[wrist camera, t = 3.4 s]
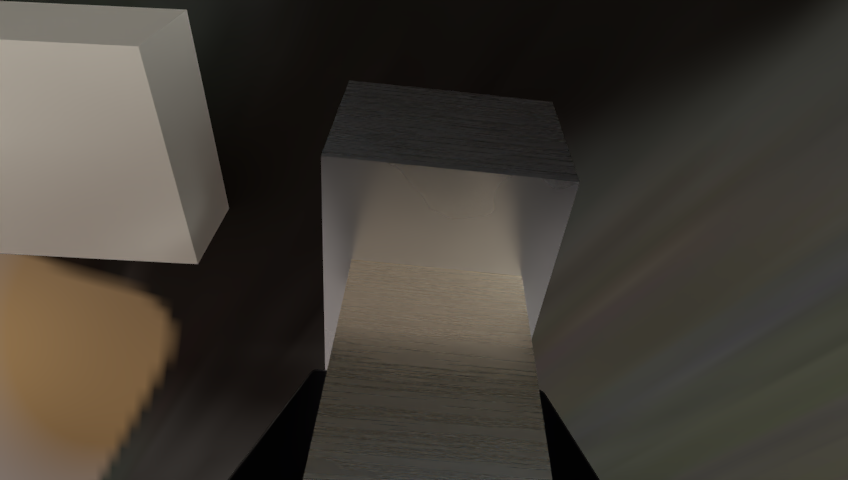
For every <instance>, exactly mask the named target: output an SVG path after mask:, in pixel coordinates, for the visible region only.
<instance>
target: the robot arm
mask: <svg viewBox="0 0 848 480" xmlns="http://www.w3.org/2000/svg"><path fill="white" fill-rule="evenodd" d="M326 373H327V370H319V369H316V370H313V371H312V372H311V373H310V374H309V375H308V376H307V378H306V379H305V380H304V381H303V383H302V384H301V385H300V387H299V388H298V389H297V390H296V392H295V393H294V394H293V396H292V397H291V398H290V400H289V401H288V402H287V403H286V405H285V406H284V407H283V409H282V410H281V411H280V412H279V414H278V415H277V416H276V418H275V419H274V420H273V422H272V423H271V424H270V425H269V427H268V428H267V429H266V431H265V432H264V433H263V435H262V436H261V437H260V438H259V440H258V441H257V442H256V444H255V445H254V446H253V447H252V449H251V450H250V451H249V453H248V454H247V455H246V457H245V458H244V459H243V460H242V462H241V463H240V464H239V466H238V467H237V468H236V469H235V471H234V472H233V473H232V475H231V476H230V477H229V479H228V480H303V477H304V473H305V468H306V464H307V459H308V454H309V450H310V445H311V441H312V436H313V432H314V427H315V423H316V418H317V414H318V409H319V405H320V400H321V396H322V391H323V387H324V382H325V378H326ZM539 393H540V400H541V407H542V413H543V420H544V427H545V433H546V440H547V447H548V453H549V460H550V467H551V474H552V480H599V478H598V476H597V475H596V473H595V472H594V470H593V469H592V467H591V465H590V464H589V462H588V461H587V459H586V457H585V456H584V454H583V453H582V451H581V450H580V448H579V446H578V445H577V443H576V442H575V440H574V439H573V437H572V435H571V434H570V432H569V431H568V429H567V428H566V426H565V424H564V423H563V421H562V420H561V418H560V416H559V415H558V413H557V412H556V410H555V409H554V407H553V405H552V404H551V402H550V401H549V399H548V398H547V396H546V394H545V393H544V392H543V391H541V390H539Z"/></svg>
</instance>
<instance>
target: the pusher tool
mask: <svg viewBox="0 0 848 480" xmlns="http://www.w3.org/2000/svg"><path fill="white" fill-rule="evenodd" d="M579 183H580V182H579V179H578V176H577V173H576V170H575V167H574V164H573V161H572V158H571V155H570V152H569V149H568V146H567V143H566V140H565V138H564V135H563V132H562V129H561V126H560V123H559V120H558V117H557V114H556V111H555V108H554V105H553V102H551V101H541V100H532V99H522V98H513V97H503V96H494V95H484V94H475V93H465V92H456V91H446V90H437V89H427V88H418V87H408V86H399V85H389V84H380V83H370V82H361V81H351V80H349V82H348V85H347V87H346V90H345V93H344V95H343V98H342V101H341V103H340V106H339V109H338V111H337V114H336V117H335V119H334V122H333V125H332V128H331V130H330V133H329V136H328V138H327V141H326V144H325V146H324V149H323V152H322V154H321V185H322V234H323V284H324V333H325V370H327V373H326V378H325V382H324V387H323V391H322V396H321V400H320V405H319V409H318V414H317V418H316V423H315V427H314V432H313V436H312V441H311V445H310V450H309V454H308V459H307V464H306V468H305V473H304V477H303V480H552V474H551V467H550V460H549V453H548V447H547V440H546V433H545V427H544V420H543V413H542V407H541V400H540V393H539V387H538V380H537V373H536V367H535V360H534V353H533V347H532V340H531V339H532V336H533V332H534V329H535V326H536V323H537V319H538V316H539V313H540V310H541V306H542V303H543V300H544V297H545V293H546V290H547V287H548V284H549V280H550V277H551V274H552V271H553V267H554V264H555V261H556V257H557V254H558V251H559V248H560V244H561V241H562V238H563V235H564V231H565V228H566V225H567V222H568V218H569V215H570V212H571V209H572V205H573V202H574V199H575V196H576V192H577V189H578V186H579Z"/></svg>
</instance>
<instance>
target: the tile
mask: <svg viewBox="0 0 848 480" xmlns="http://www.w3.org/2000/svg"><path fill="white" fill-rule="evenodd" d="M228 210H229V205H228V201H227V196H226V191H225V187H224V182H223V177H222V173H221V168H220V163H219V159H218V154H217V149H216V145H215V140H214V135H213V130H212V126H211V121H210V116H209V112H208V107H207V102H206V98H205V93H204V88H203V84H202V79H201V74H200V70H199V65H198V60H197V56H196V51H195V46H194V42H193V37H192V32H191V27H190V23H189V18H188V13H187V10H181V9H160V8H139V7H118V6H97V5H76V4H55V3H34V2H13V1H0V254H18V255H36V256H55V257H73V258H92V259H110V260H129V261H147V262H166V263H185V264H198V263H199V261H200V260H201V258H202V256H203V254H204V253H205V251H206V249H207V247H208V245H209V244H210V242H211V240H212V238H213V236H214V235H215V233H216V231H217V229H218V228H219V226H220V224H221V222H222V220H223V219H224V217H225V215H226V213H227V212H228Z"/></svg>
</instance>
